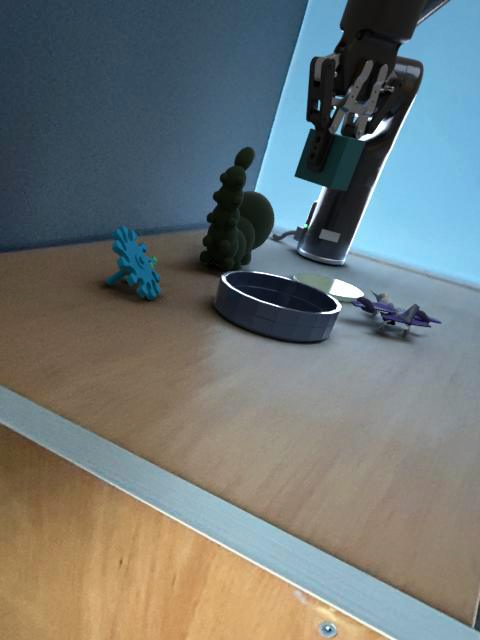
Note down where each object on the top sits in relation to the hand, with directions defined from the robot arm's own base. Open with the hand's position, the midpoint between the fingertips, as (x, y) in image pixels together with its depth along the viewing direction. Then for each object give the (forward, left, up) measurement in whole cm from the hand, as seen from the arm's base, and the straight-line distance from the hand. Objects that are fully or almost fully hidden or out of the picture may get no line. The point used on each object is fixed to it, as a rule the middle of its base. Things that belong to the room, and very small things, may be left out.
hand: (323, 171), depth 68 cm
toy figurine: (-24, +12, -18) cm, 32 cm away
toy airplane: (+4, +20, -18) cm, 27 cm away
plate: (-12, +25, -18) cm, 33 cm away
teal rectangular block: (0, 0, -1) cm, 1 cm away
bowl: (0, 0, -18) cm, 18 cm away
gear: (-11, -16, -18) cm, 27 cm away
